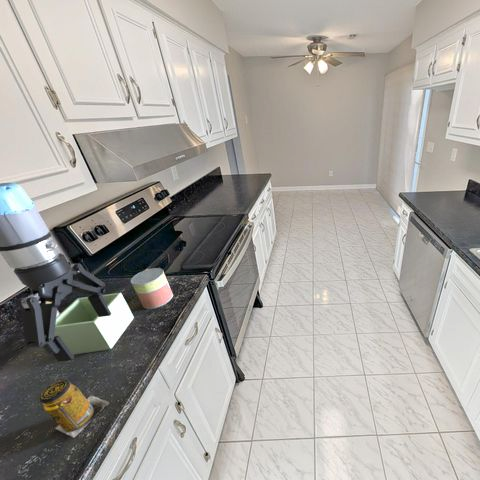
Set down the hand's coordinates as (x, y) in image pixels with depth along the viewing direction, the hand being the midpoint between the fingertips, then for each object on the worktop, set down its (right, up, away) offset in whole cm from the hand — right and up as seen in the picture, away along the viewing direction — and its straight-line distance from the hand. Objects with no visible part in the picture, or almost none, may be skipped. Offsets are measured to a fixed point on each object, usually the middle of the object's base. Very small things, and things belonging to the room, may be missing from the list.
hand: (88, 335), depth 61 cm
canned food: (-11, -2, +44) cm, 46 cm away
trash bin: (-21, -11, +28) cm, 37 cm away
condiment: (-4, -22, +4) cm, 23 cm away
